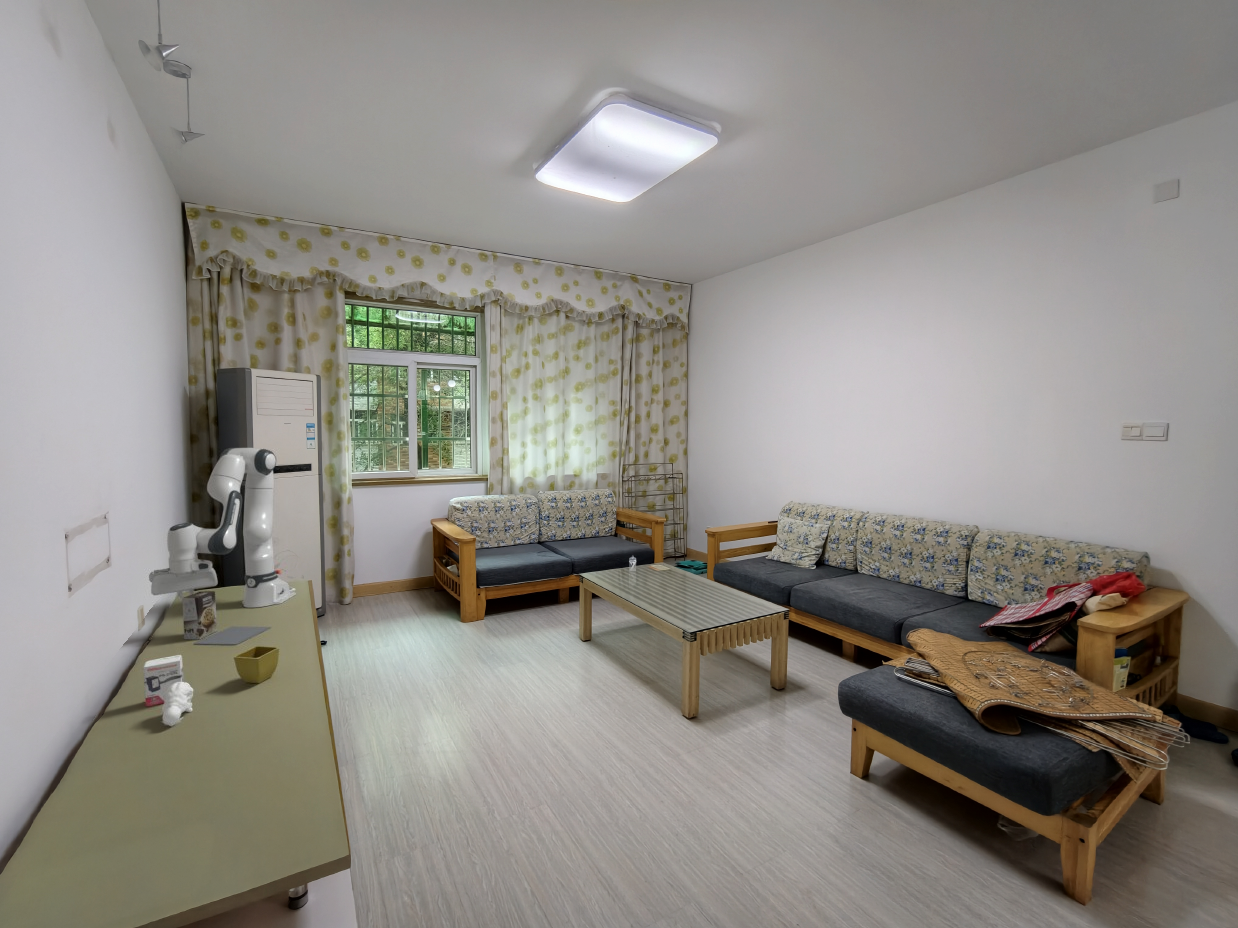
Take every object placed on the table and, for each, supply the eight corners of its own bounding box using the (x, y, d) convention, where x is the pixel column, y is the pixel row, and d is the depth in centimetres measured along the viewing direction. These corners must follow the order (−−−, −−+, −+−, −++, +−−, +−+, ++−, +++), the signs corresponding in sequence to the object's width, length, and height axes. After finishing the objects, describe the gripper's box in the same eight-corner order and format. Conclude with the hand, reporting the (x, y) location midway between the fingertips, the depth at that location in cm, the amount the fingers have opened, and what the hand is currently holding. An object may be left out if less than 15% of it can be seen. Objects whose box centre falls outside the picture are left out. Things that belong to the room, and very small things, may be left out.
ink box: (145, 707, 160) (142, 666, 159) (147, 700, 164) (144, 660, 163) (183, 698, 164) (180, 659, 164) (184, 692, 168) (182, 653, 168)
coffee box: (200, 639, 212) (198, 597, 211) (183, 639, 213) (181, 597, 212) (218, 631, 222) (215, 590, 221) (201, 631, 222) (199, 590, 221)
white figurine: (193, 676, 159) (182, 698, 148) (196, 704, 160) (185, 728, 149) (165, 681, 156) (152, 704, 145) (168, 710, 157) (155, 734, 147)
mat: (231, 627, 226) (231, 626, 226) (271, 627, 224) (270, 626, 224) (193, 644, 208) (193, 643, 208) (235, 645, 206) (235, 644, 206)
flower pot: (258, 687, 171) (257, 658, 170) (234, 685, 173) (232, 656, 172) (281, 674, 180) (280, 647, 179) (258, 672, 181) (256, 645, 181)
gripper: (148, 572, 207) (151, 609, 208) (216, 563, 220) (219, 598, 221) (148, 569, 212) (151, 605, 213) (215, 560, 225) (217, 594, 226)
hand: (186, 601), depth 217 cm, fingers closed
